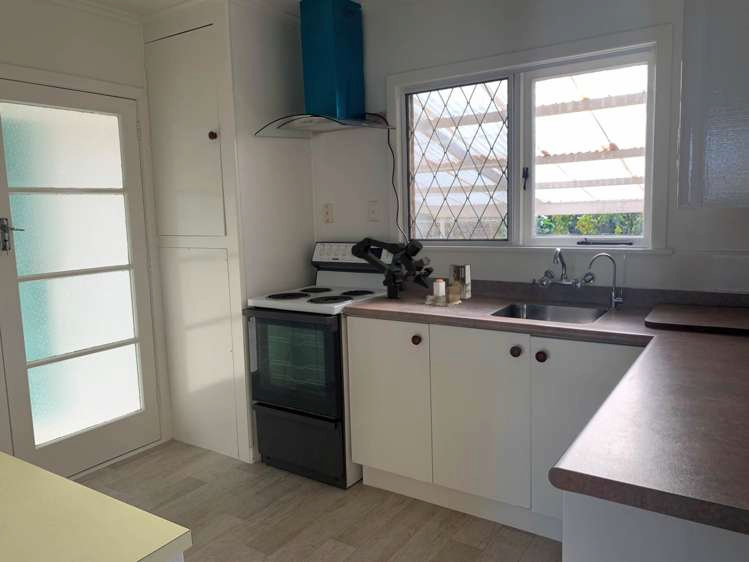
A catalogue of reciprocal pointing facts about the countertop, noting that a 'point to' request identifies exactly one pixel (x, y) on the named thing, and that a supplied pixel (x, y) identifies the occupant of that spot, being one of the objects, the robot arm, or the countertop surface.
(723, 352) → the countertop surface
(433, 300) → the mount
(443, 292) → the white shaker
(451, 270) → the coffee box
